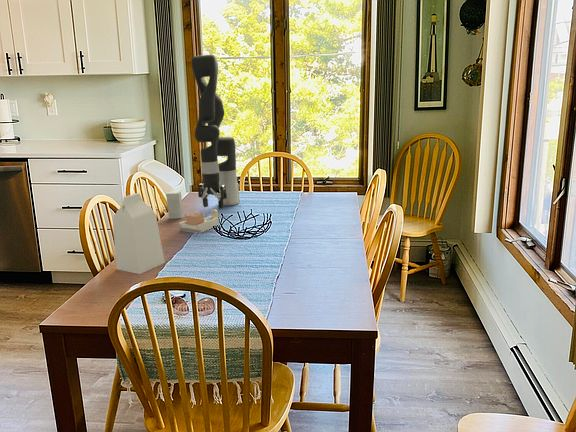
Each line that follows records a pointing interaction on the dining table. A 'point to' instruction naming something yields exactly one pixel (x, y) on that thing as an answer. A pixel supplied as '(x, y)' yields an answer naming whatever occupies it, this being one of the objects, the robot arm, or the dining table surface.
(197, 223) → the peach block with knob
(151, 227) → the milk
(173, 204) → the skincare box
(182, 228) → the shelf lane
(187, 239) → the dining table surface
